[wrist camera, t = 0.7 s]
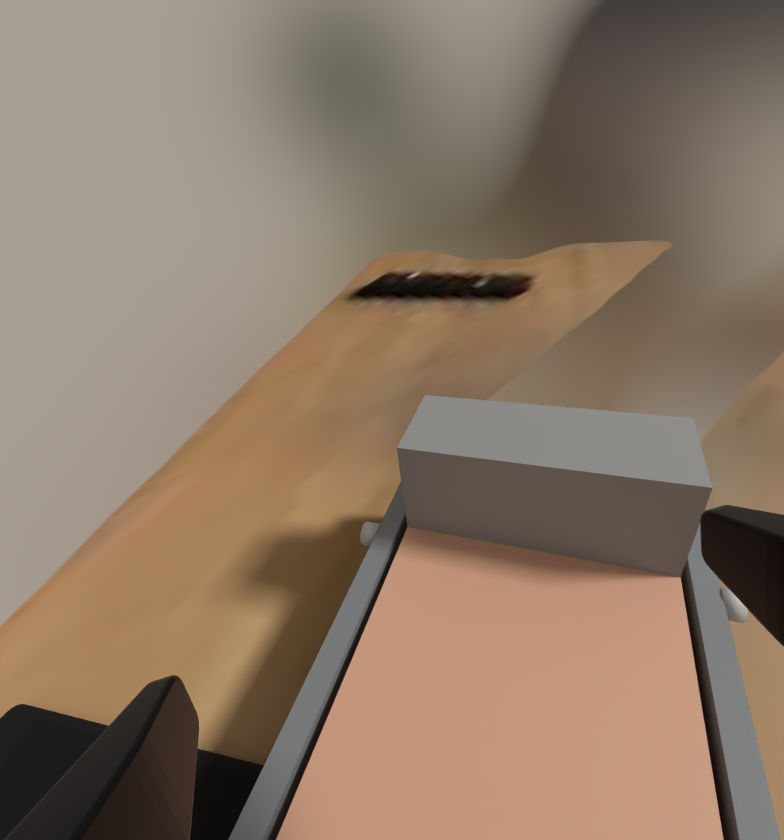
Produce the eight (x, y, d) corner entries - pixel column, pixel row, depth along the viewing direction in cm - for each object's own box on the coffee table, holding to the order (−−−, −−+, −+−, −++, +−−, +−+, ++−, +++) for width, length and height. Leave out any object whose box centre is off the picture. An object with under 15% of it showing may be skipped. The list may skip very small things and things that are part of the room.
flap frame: (850, 1386, 10) (1001, 1495, 7) (204, 986, 15) (139, 954, 12) (692, 564, 26) (717, 495, 23) (407, 514, 31) (400, 453, 29)
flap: (718, 1194, 11) (923, 1258, 6) (282, 954, 15) (174, 863, 10) (650, 563, 26) (693, 418, 20) (436, 524, 30) (425, 395, 24)
